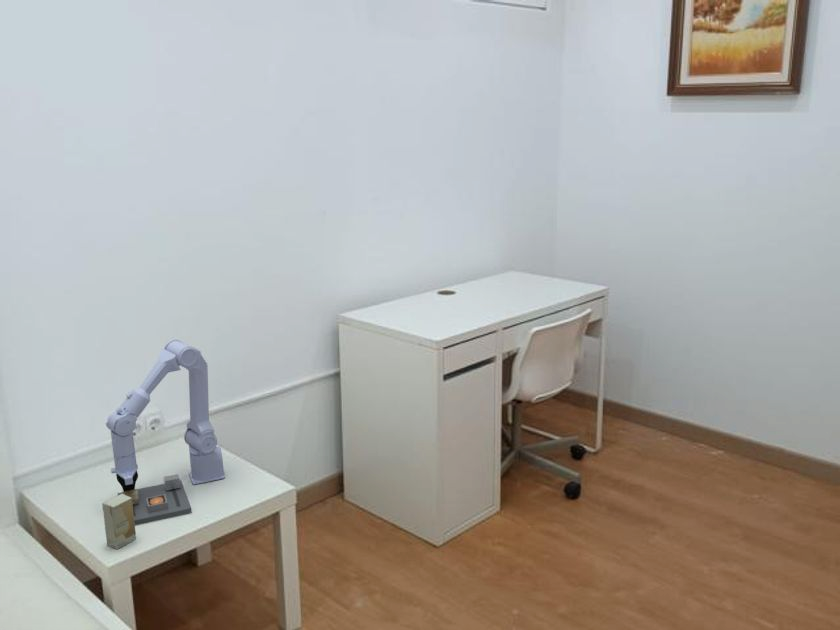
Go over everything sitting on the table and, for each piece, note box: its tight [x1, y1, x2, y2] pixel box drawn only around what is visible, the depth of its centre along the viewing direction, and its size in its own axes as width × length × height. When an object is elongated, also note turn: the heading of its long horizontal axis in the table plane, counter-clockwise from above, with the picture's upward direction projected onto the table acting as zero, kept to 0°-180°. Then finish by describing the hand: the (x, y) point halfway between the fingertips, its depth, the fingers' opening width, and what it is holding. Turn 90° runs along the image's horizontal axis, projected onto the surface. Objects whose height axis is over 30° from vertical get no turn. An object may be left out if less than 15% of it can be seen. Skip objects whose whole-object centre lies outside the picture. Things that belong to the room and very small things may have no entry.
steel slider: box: [163, 473, 181, 490], centre depth 229 cm, size 4×3×3 cm
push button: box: [150, 497, 164, 505], centre depth 220 cm, size 4×4×2 cm
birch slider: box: [121, 488, 139, 504], centre depth 221 cm, size 4×3×3 cm
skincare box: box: [102, 494, 137, 550], centre depth 204 cm, size 6×4×12 cm
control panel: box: [117, 480, 193, 526], centre depth 223 cm, size 18×18×4 cm
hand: (129, 496), depth 224 cm, fingers closed
